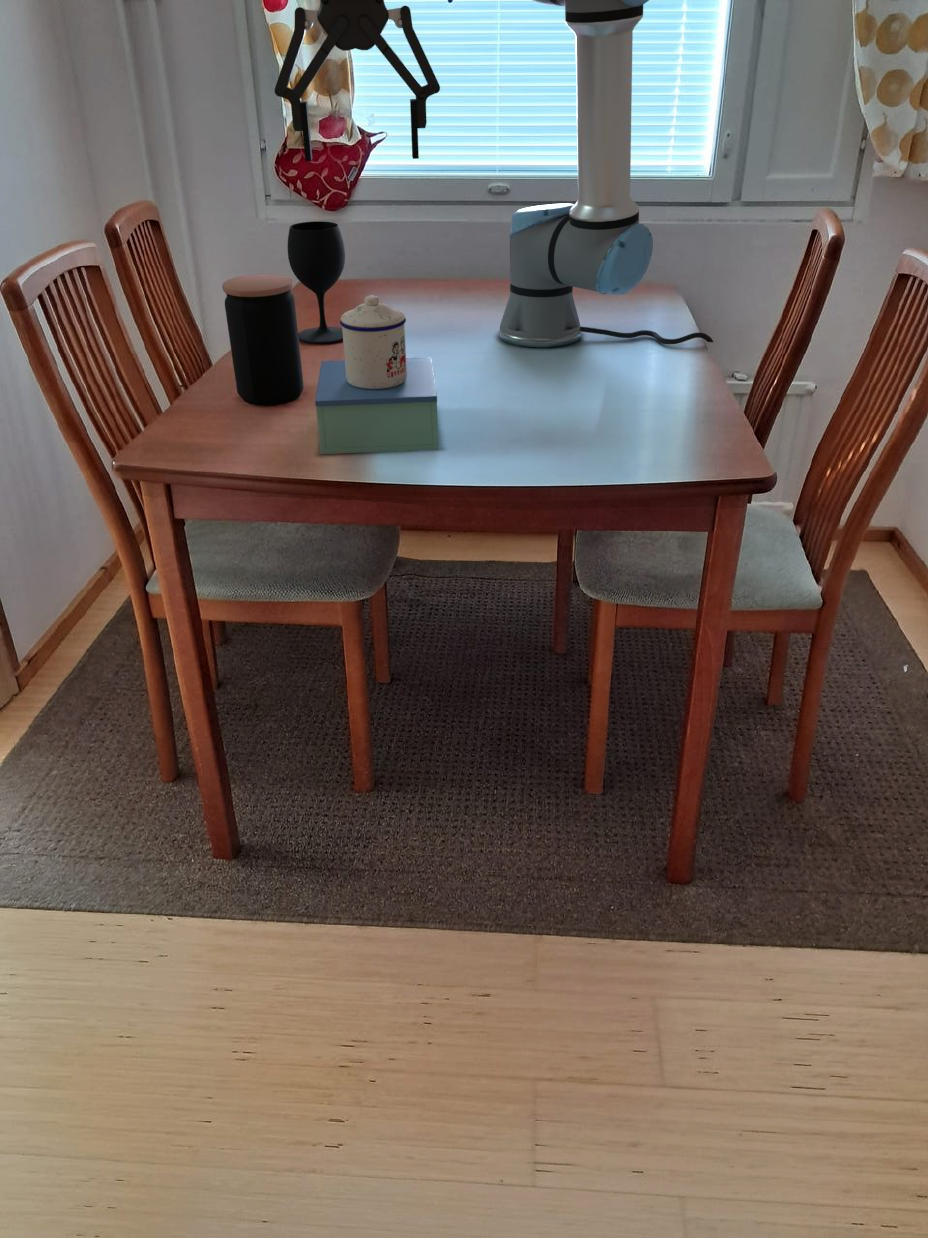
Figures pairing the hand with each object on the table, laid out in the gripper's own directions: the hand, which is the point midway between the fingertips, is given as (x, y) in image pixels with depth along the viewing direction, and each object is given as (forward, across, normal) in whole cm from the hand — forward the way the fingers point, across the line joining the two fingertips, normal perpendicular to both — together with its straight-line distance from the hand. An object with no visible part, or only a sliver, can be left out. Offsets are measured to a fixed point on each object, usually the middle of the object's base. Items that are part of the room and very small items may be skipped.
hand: (362, 158), depth 123 cm
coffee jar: (+37, +18, -17) cm, 44 cm away
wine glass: (+37, +10, -50) cm, 63 cm away
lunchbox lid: (+29, 0, 0) cm, 29 cm away
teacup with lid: (+29, 0, 0) cm, 29 cm away
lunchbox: (+37, 0, 0) cm, 37 cm away
